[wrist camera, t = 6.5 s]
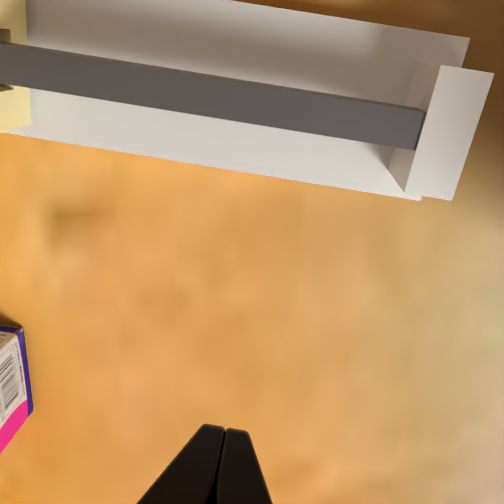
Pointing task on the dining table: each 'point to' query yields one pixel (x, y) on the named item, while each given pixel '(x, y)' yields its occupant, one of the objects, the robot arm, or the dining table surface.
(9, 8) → the sleeve
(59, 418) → the dining table surface
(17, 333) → the supplement box
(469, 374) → the dining table surface
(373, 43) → the linear slide rail
